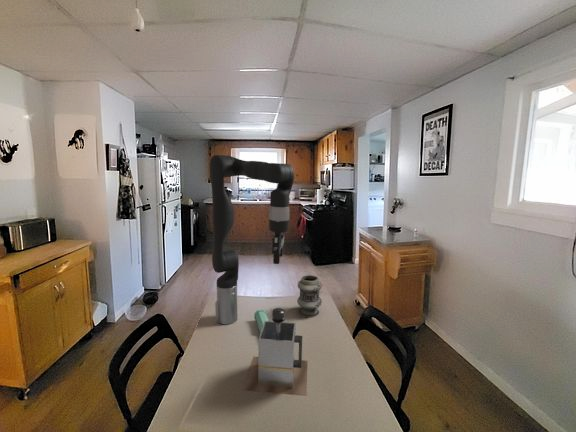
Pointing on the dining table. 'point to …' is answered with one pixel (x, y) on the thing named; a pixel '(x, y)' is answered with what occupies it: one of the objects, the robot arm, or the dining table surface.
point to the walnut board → (297, 389)
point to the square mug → (278, 355)
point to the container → (260, 318)
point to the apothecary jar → (309, 295)
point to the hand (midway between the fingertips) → (277, 259)
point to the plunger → (278, 319)
